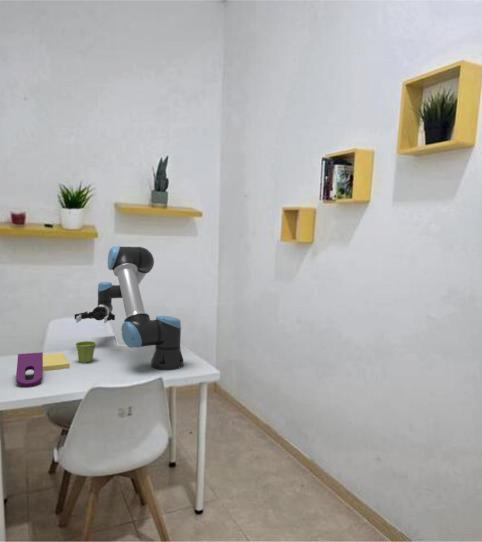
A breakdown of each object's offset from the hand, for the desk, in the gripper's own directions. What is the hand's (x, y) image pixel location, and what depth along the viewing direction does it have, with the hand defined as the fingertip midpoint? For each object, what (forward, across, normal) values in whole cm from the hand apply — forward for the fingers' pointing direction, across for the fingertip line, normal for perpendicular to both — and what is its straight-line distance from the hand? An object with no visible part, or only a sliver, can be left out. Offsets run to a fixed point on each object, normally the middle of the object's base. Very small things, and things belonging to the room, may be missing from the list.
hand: (91, 320), depth 210 cm
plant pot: (+10, 0, -18) cm, 21 cm away
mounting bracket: (+37, +15, -18) cm, 44 cm away
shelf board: (+14, +14, -18) cm, 27 cm away
